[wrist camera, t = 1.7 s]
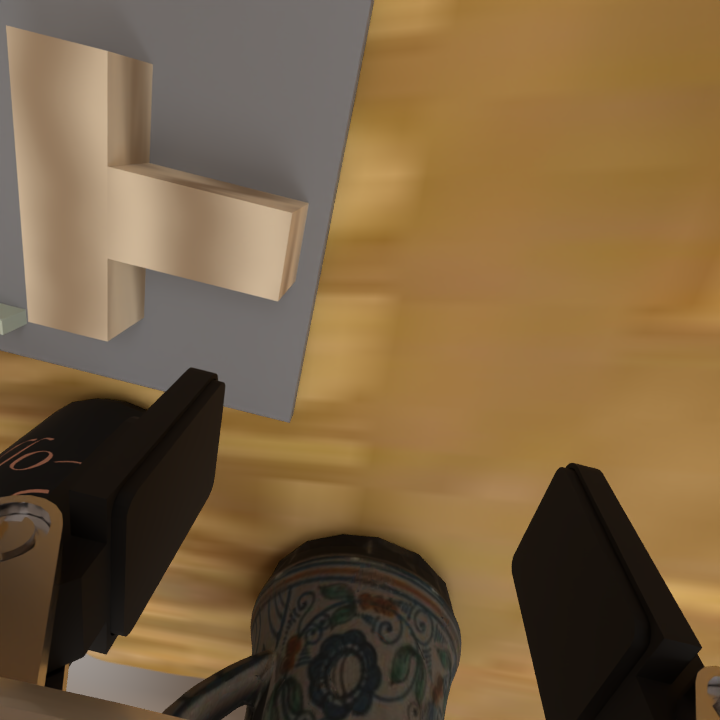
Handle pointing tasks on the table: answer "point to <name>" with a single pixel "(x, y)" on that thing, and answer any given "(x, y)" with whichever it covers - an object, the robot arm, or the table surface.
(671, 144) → the table surface
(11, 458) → the coffee jar
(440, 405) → the table surface
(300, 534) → the table surface
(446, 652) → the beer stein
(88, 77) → the t block
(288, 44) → the mat
